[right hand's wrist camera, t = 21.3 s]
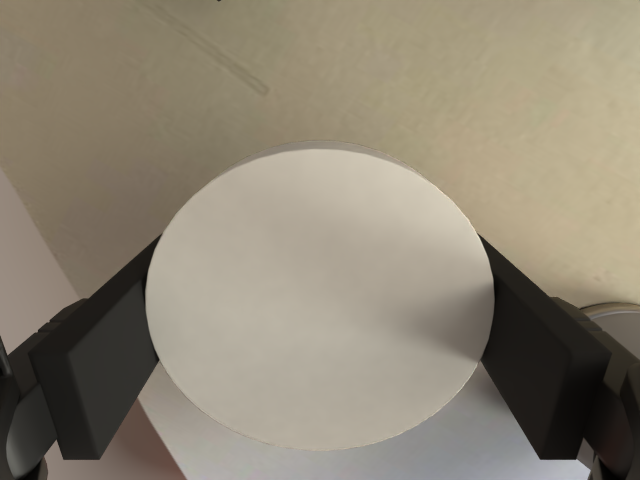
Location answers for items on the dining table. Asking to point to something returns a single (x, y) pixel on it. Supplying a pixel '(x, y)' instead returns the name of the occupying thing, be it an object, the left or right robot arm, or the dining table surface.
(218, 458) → the dining table surface
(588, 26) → the dining table surface
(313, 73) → the dining table surface
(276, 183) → the lid
